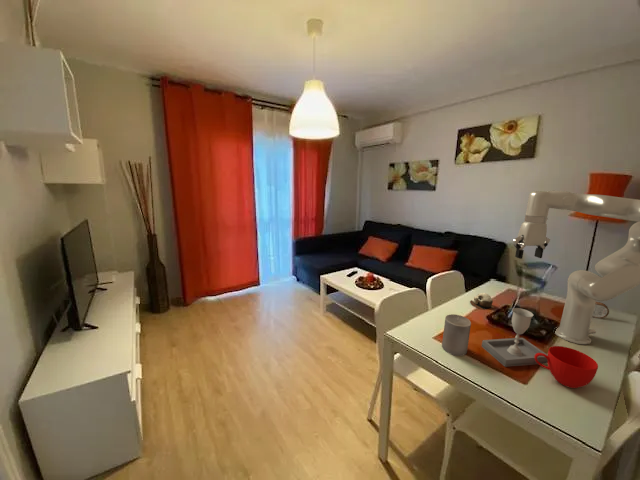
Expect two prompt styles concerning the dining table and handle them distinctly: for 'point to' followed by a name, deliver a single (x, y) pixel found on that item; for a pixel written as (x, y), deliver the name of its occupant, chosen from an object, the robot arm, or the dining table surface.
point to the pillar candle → (456, 334)
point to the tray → (506, 359)
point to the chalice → (519, 327)
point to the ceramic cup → (569, 366)
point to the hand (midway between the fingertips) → (528, 257)
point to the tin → (600, 310)
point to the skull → (482, 301)
